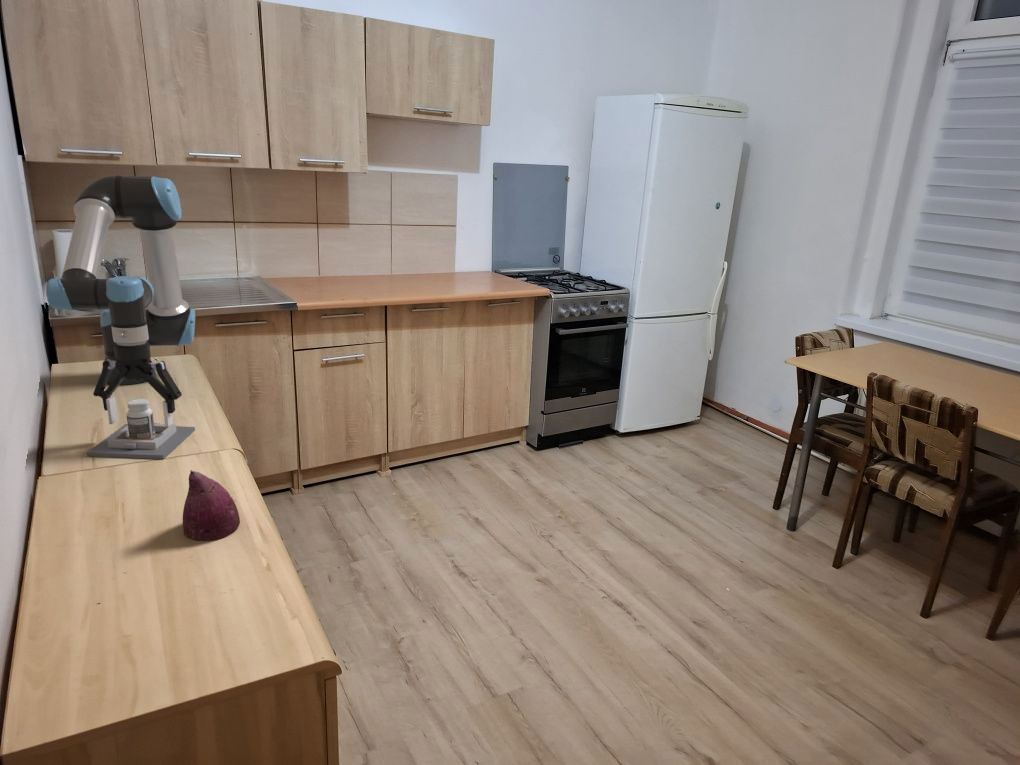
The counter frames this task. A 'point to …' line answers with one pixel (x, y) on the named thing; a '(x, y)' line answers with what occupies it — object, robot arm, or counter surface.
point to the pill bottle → (140, 420)
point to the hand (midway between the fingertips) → (141, 423)
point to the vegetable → (208, 510)
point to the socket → (142, 443)
